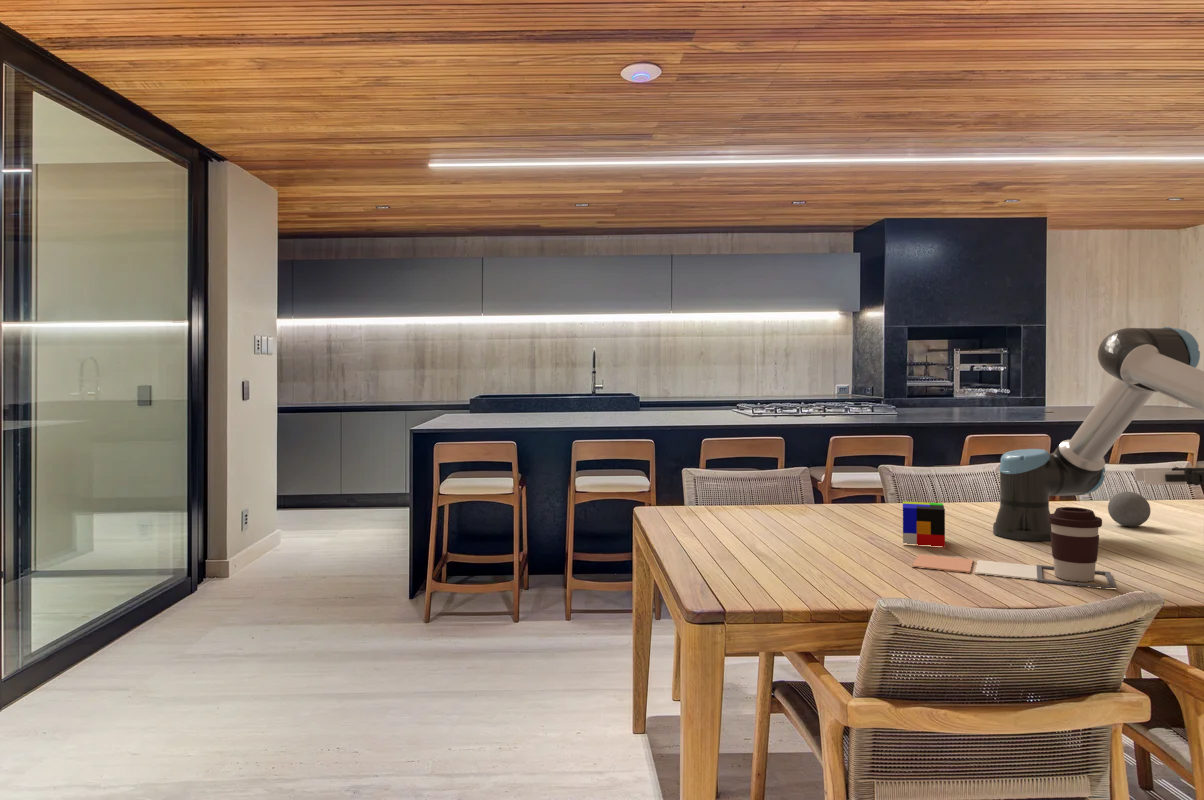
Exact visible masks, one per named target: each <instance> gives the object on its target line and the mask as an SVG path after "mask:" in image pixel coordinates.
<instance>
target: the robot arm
mask: <svg viewBox="0 0 1204 800" xmlns="http://www.w3.org/2000/svg"><path fill="white" fill-rule="evenodd" d="M1200 358H1201V352H1200V350H1199V343H1198V341H1197V339H1196V338H1195V337H1194V336H1193V335H1192V334H1191V333H1190V332H1188V331H1187V330H1184V329H1182V328H1176V327H1175V328H1172V327H1170V326H1163V327H1161V328H1159V327H1158V328H1152V327H1151V328H1150V327H1149V328H1146V327H1143V328H1142V327H1125V328H1120V329H1118V330H1115V331H1113V332H1111V333H1109V334H1107V336H1106V337H1105V338H1103V339H1102V341H1101V342H1100V344H1099V346H1098V350H1097V359H1098V363H1099V365H1100V366H1101V368H1102V369H1103V370H1104V371H1105V372H1106V373H1108V374H1109V375H1110V376H1113V377H1114V379H1113V381H1112V382H1110V385H1109V386H1108V387H1107V389H1106V390H1105V392H1104V393H1103V394H1102V396H1101V397H1100V398H1099V400H1098V401H1097V403H1096V404H1095V405H1094V407H1093V408H1092V410H1090V412H1089V414H1088V415H1087V417H1086V418H1085V419H1084V421H1082V423H1081V425H1080V426H1079V427H1078V429H1077V430H1076V431H1075V433H1074V435H1073V436H1072V437H1071V438H1070V439H1066V440H1063V441H1060V444H1059V445H1057V448H1055V450H1054V451H1053V452H1052V453H1049V451H1047V450H1046V449H1042V448H1041V449H1040V448H1026V449H1025V448H1023V449H1015V450H1010V451H1007V452H1005V453H1003V454H1002V455H1001V457H1000V464H999V465H1000V466H999V469H998V471H999V482H1000V483H999V509H998V511H997V514H996V518H995V522H993V524H992V525H993V526H992V534H994V535H995V536H997V535H998V537H1002V538H1004V539H1011V540H1019V541H1029V542H1032V541H1033V542H1046V541H1047V542H1048V541H1051V523H1049V522H1048V515H1049V514H1051V512H1050V497H1061V496H1062V497H1063V496H1066V497H1067V496H1083V495H1086V494H1091V493H1093V492H1096V491H1097V490H1098V489H1099V488H1100V487H1101V486H1102V485H1103V484H1104V481H1105V477H1106V475H1105V472H1106V461H1105V455H1107V453H1108V452H1109V451H1110V449H1111V448H1112V447H1113V445H1114V444H1115V442H1116V441H1117V440H1118V439H1119V438H1120V437H1121V435H1122V434H1123V433H1124V431H1125V430H1126V429H1127V427H1128V426H1129V425H1130V423H1131V422H1132V421H1133V420H1134V418H1135V417H1136V416H1137V414H1138V413H1139V412H1140V411H1141V410H1142V408H1143V407H1144V405H1146V403H1147V402H1148V401H1149V400H1150V398H1151V397H1152V395H1153V394H1154V393H1160V394H1162V395H1165V396H1166V397H1169V398H1170V399H1173V400H1175V401H1177V402H1180V403H1182V404H1184V405H1186V406H1188V407H1191V408H1193V409H1195V410H1198V411H1200V412H1202V413H1204V370H1202V369H1199V368H1197V366H1198V365H1199V363H1200ZM1133 471H1134V481H1135V482H1136V481H1137V482H1144V485H1146V486H1150V485H1151V486H1152V485H1153V486H1154V485H1157V486H1158V485H1161V486H1163V485H1164V486H1165V485H1175V486H1176V485H1182V486H1183V485H1189V486H1191V485H1194V486H1200V485H1203V486H1204V467H1178V466H1175V467H1141V468H1140V467H1134V470H1133Z"/></svg>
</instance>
